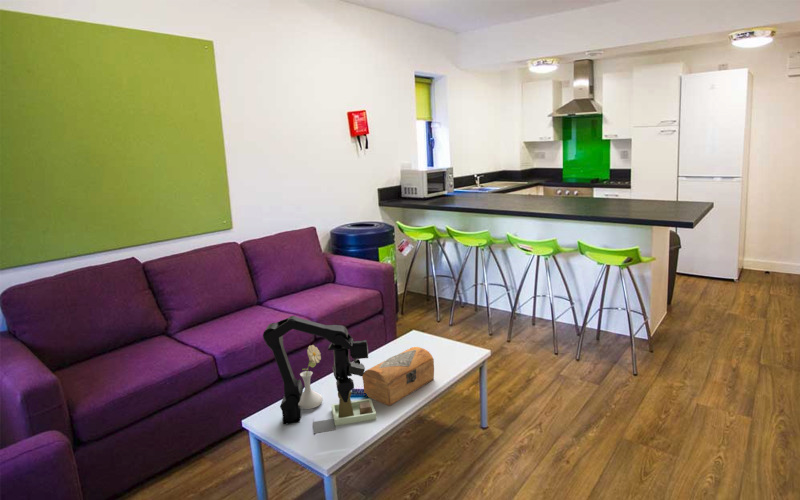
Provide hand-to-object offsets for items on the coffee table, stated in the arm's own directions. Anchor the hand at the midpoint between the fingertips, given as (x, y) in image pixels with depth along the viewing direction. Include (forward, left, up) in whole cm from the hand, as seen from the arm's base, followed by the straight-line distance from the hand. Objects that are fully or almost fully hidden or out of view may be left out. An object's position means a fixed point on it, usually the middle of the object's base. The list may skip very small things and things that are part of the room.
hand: (344, 396), depth 196 cm
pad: (-9, -5, -9) cm, 13 cm away
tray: (+3, 0, -9) cm, 9 cm away
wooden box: (+26, +16, -9) cm, 32 cm away
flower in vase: (-13, +14, -9) cm, 21 cm away
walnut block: (+8, -2, -8) cm, 11 cm away
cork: (0, 0, -8) cm, 8 cm away
